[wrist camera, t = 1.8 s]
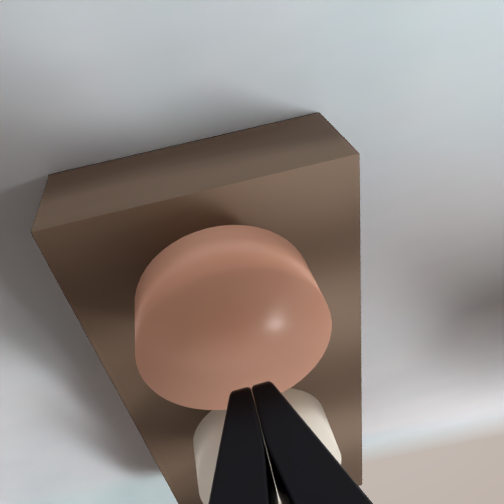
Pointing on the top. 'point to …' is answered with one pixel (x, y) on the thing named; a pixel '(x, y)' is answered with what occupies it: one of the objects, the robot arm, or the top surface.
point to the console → (198, 218)
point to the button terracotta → (227, 316)
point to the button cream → (213, 423)
